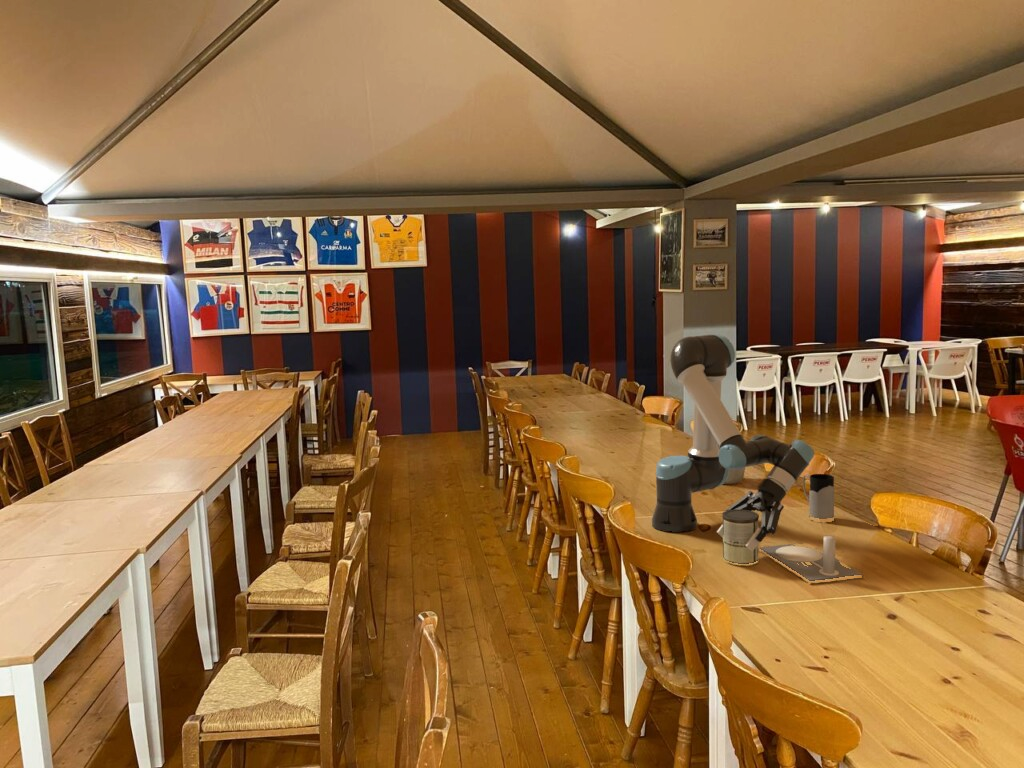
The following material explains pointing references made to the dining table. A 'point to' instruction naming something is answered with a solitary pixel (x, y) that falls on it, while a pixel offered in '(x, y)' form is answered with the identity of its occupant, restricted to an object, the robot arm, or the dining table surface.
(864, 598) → the dining table surface
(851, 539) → the dining table surface
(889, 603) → the dining table surface
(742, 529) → the coffee can
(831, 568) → the pegged base plate
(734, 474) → the canister
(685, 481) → the robot arm
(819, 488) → the grey and black mug
